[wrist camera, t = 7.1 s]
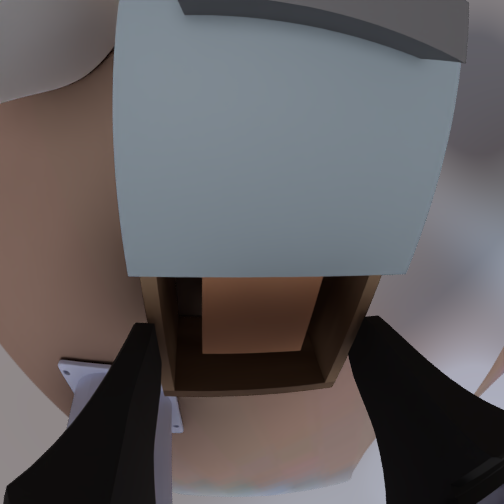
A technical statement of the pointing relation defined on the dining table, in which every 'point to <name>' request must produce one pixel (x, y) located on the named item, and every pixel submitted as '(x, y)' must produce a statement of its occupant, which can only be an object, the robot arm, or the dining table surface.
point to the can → (52, 43)
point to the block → (256, 313)
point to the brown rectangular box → (257, 364)
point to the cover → (281, 133)
